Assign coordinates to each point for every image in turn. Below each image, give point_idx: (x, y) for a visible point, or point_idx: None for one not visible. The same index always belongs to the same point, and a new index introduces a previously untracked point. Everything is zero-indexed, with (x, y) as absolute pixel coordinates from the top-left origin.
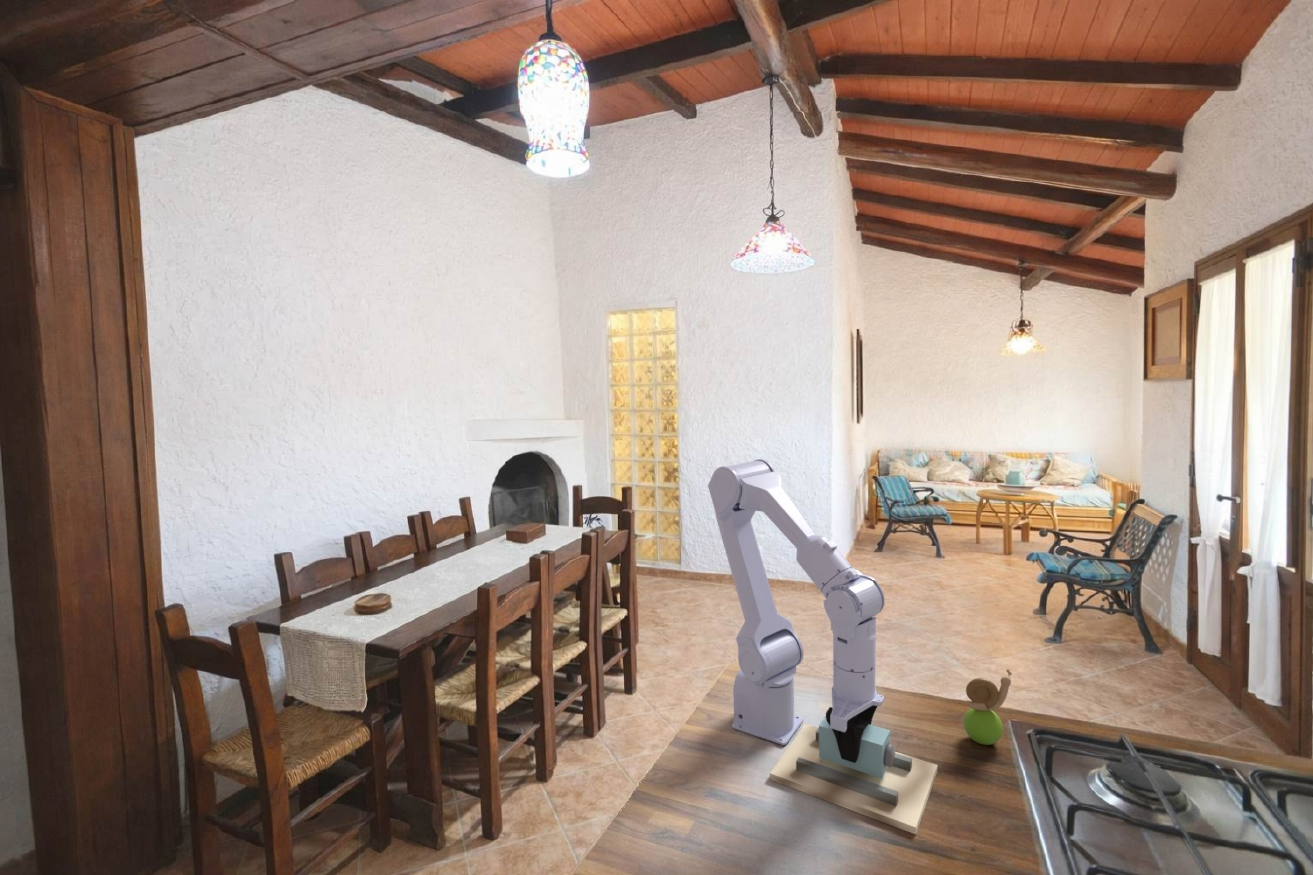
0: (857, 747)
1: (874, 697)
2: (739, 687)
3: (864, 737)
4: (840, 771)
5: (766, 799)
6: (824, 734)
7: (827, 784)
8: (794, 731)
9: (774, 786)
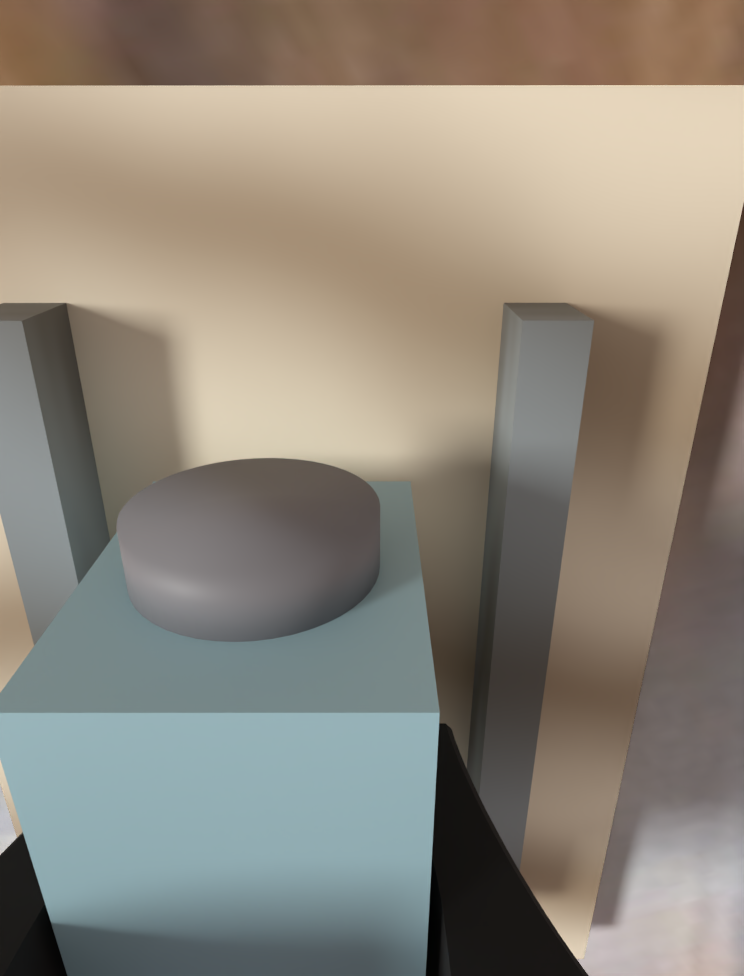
0: (518, 872)
1: None
2: None
3: (376, 904)
4: None
5: (724, 890)
6: None
7: (543, 735)
8: None
9: (614, 893)
